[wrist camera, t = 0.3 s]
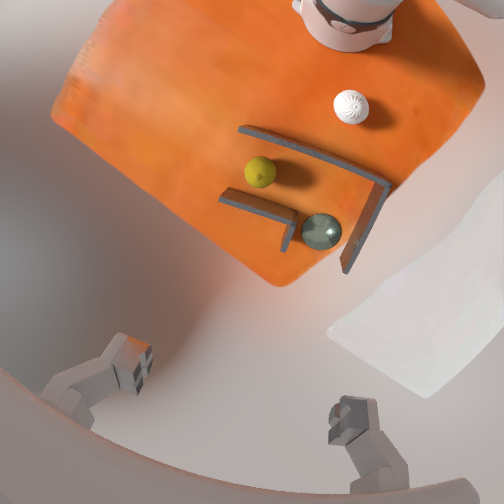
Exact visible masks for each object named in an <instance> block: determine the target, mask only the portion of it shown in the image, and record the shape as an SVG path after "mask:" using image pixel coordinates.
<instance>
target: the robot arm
mask: <svg viewBox="0 0 504 504" xmlns="http://www.w3.org/2000/svg"><path fill="white" fill-rule="evenodd" d="M403 1H404V0H301V2H300V1H299V0H294V1H293V3H292V7H293V9H294V10H295V11H296V12H297V13H298V14H299V15H300V16H301V17H302V19H303V21H304V23H305V26H306V28H307V29H308V31H309V32H310V34H311V35H312V36H313V37H314V38H315V39H316V40H317V41H319V42H320V43H322V44H323V45H325V46H327V47H329V48H331V49H334V50H337V51H342V52H358V51H362V50H365V49H367V48H369V47H371V46H372V45H374V44H380V43H388V42H389V41H390V40H391V39H392V16H393V13H394V11H395V8H396V7H397V6H398V5H399V4H401V3H402V2H403ZM455 1H457V2H459V3H461V4H463V5H464V6H466V7H468V8H470V9H473V10H474V11H476V12H478V13H480V14H482V15H484V16H486V17H488V18H492V19H503V18H504V0H455ZM151 352H152V346H151V345H149V344H146V343H144V342H141V341H139V340H136V339H134V338H132V337H130V336H127V335H125V334H122V333H120V332H119V333H118V334H116V335H115V337H114V338H113V340H112V341H111V342H110V344H109V345H108V347H107V348H106V350H105V351H104V353H103V354H102V356H101V357H100V358H99V359H98V358H95V359H92V360H90V361H87V362H85V363H83V364H80V365H78V366H76V367H73V368H71V369H68V370H66V371H64V372H61V373H59V374H56V375H54V376H53V377H52V379H51V380H50V382H49V383H48V384H47V386H46V387H45V389H44V390H43V391H42V393H41V395H40V396H39V397H37V396H36V395H34V394H33V393H32V392H30V391H29V390H28V389H27V388H25V387H24V386H23V385H21V384H20V383H19V382H18V381H16V380H15V379H14V378H13V377H12V376H10V375H9V374H8V373H7V372H6V371H5V370H3V369H2V368H1V367H0V504H480V500H479V495H478V492H477V491H476V489H475V488H474V487H473V486H472V484H471V483H470V482H469V481H468V480H467V479H466V478H458V479H454V480H450V481H446V482H442V483H438V484H433V485H428V486H423V487H418V488H412V489H409V473H408V464H407V463H406V462H405V460H404V459H403V458H402V456H401V455H400V454H399V452H398V451H397V449H396V448H395V447H394V446H393V444H392V443H391V441H390V440H389V439H388V437H387V436H386V435H385V433H384V432H383V431H380V426H379V417H378V409H377V401H376V400H375V399H371V398H363V397H353V396H342V397H341V398H340V403H337V404H335V405H334V406H333V407H332V409H331V411H330V414H329V424H330V425H331V427H332V428H331V429H330V430H329V435H328V444H331V445H340V446H345V448H346V450H347V452H348V453H349V455H350V457H351V459H352V461H353V463H354V465H355V467H356V468H357V471H358V472H359V474H360V476H361V478H359V479H357V480H355V481H353V482H352V483H351V484H350V494H309V493H294V492H285V491H276V490H268V489H262V488H256V487H250V486H244V485H239V484H234V483H229V482H225V481H221V480H217V479H213V478H209V477H205V476H201V475H198V474H194V473H191V472H188V471H185V470H181V469H178V468H175V467H172V466H169V465H167V464H163V463H161V462H158V461H156V460H153V459H150V458H148V457H145V456H143V455H140V454H138V453H136V452H134V451H131V450H129V449H127V448H125V447H122V446H120V445H118V444H116V443H114V442H112V441H110V440H108V439H106V438H104V437H102V436H100V435H98V434H96V433H94V432H93V431H91V430H90V429H91V427H92V425H93V423H94V421H95V419H94V417H93V415H92V413H91V412H90V410H89V408H90V407H92V406H93V405H95V404H97V403H98V402H100V401H102V400H104V399H105V398H107V397H109V396H110V395H112V394H114V393H115V392H117V391H119V390H120V389H122V390H124V391H127V392H129V393H132V394H134V395H137V396H138V394H139V392H140V390H141V388H142V386H143V378H145V377H147V376H148V374H149V373H150V370H151V367H152V363H153V357H152V356H151Z"/></svg>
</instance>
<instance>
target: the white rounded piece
mask: <svg viewBox="0 0 504 504" xmlns="http://www.w3.org/2000/svg"><path fill="white" fill-rule="evenodd" d="M334 110H335V113H336V115H337V116H338V118H339V119H340V120H342V121H343V122H345V123H348V124H358V123H361V122H362V121H364V120H365V119H366V118H367V116H368V114H369V105H368V102H367V100H366V98H365V97H364V96H363V95H362V94H361V93H359V92H357V91H354V90H346V91H343V92H341V93H340V94H338V95H337V97H336V98H335V100H334Z"/></svg>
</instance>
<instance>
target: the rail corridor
mask: <svg viewBox="0 0 504 504" xmlns="http://www.w3.org/2000/svg"><path fill="white" fill-rule="evenodd" d="M238 132H240V133H243V134H247V135H250V136H253V137H257V138H260V139H263V140H266V141H269V142H273V143H276V144H279V145H282V146H285V147H288V148H291V149H293V150H296V151H299V152H302V153H305V154H307V155H310V156H313V157H316V158H318V159H321V160H323V161H326V162H329V163H331V164H334V165H336V166H339V167H341V168H344V169H346V170H348V171H351V172H353V173H356V174H358V175H360V176H363V177H365V178H367V179H369V180H372V181H374V182H375V184H374V186H373V188H372V191H371V193H370V195H369V197H368V200H367V202H366V204H365V206H364V209H363V211H362V213H361V215H360V217H359V219H358V221H357V224H356V226H355V228H354V230H353V232H352V234H351V236H350V238H349V240H348V242H347V244H346V247H345V248H344V250H343V252H342V254H341V256H340V261H341V265H342V270H343V273H345V274H348V272H349V271H350V269H351V267H352V265H353V263H354V262H355V260H356V258H357V256H358V254H359V252H360V250H361V248H362V246H363V244H364V242H365V240H366V239H367V237H368V235H369V233H370V230H371V229H372V227H373V224H374V222H375V220H376V218H377V216H378V214H379V212H380V210H381V208H382V206H383V204H384V201H385V199H386V197H387V195H388V193H389V190H390V188H391V186H392V183H391V182H390V181H388V180H387V179H386V178H385V177H384V176H382V175H380V174H378V173H376V172H374V171H371V170H369V169H367V168H365V167H362V166H360V165H358V164H356V163H353V162H351V161H348V160H346V159H344V158H341V157H339V156H336V155H334V154H331V153H329V152H326V151H324V150H321V149H318V148H316V147H313V146H310V145H307V144H305V143H302V142H299V141H296V140H293V139H290V138H287V137H284V136H281V135H278V134H275V133H272V132H269V131H266V130H262V129H259V128H256V127H252V126H249V125H242V126H239V129H238ZM218 202H222V203H225V204H228V205H231V206H234V207H237V208H240V209H243V210H246V211H249V212H252V213H255V214H258V215H261V216H264V217H267V218H270V219H272V220H275V221H278V222H281V223H284V224H287V227H286V229H285V232H284V235H283V237H282V243H281V250H280V251H281V252H284V253H285V252H286V250H287V248H288V245H289V243H290V240H291V238H292V235H293V233H294V230H295V228H296V225H297V223H298V211H296V210H294V209H291V208H288V207H285V206H282V205H279V204H276V203H274V202H271V201H268V200H265V199H262V198H259V197H256V196H253V195H250V194H247V193H244V192H241V191H237V190H234V189H231V188H227V189H226V190H225V191H224V192H223V193H222V194H221V196H220V197H219V201H218ZM340 235H341V228H340V225H339V223H338V221H337V220H336V219H335V218H334V217H332V216H330V215H328V214H322V213H321V214H315V215H313V216H311V217H309V218H308V219H307V220H306V221H305V223H304V224H303V227H302V237H303V240H304V241H305V243H306V244H307V245H308V246H309V247H311V248H313V249H316V250H326V249H329V248H331V247H333V246H334V245H335V244H336V243H337V242H338V240H339V238H340Z"/></svg>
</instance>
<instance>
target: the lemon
mask: <svg viewBox="0 0 504 504" xmlns="http://www.w3.org/2000/svg"><path fill="white" fill-rule="evenodd" d="M276 172H277V171H276V167H275V164H274V163H273V162H272V161H271V160H270V159H269V158H266V157H262V156H260V157H255V158H253V159H251V160H250V161H249V162H248V163H247V165H246V167H245V178H246V180H247V182H248V183H249V184H250V185H251V186H253V187H256V188H265V187H267V186H269V185H270V184H272V182H273V181H274V180H275V177H276Z"/></svg>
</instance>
